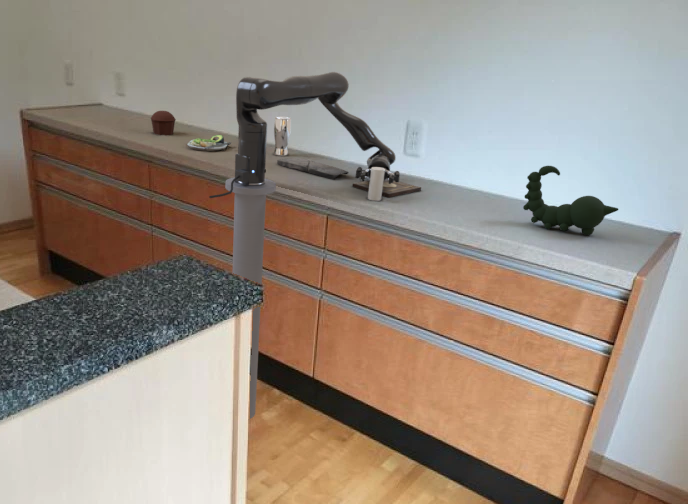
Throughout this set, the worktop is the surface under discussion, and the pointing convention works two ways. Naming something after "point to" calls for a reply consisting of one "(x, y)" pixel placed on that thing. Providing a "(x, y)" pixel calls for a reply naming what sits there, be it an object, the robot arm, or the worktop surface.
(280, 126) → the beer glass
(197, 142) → the salad plate
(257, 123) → the robot arm
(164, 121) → the muffin
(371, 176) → the white cylinder
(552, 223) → the toy figurine
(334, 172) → the stone slab
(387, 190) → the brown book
